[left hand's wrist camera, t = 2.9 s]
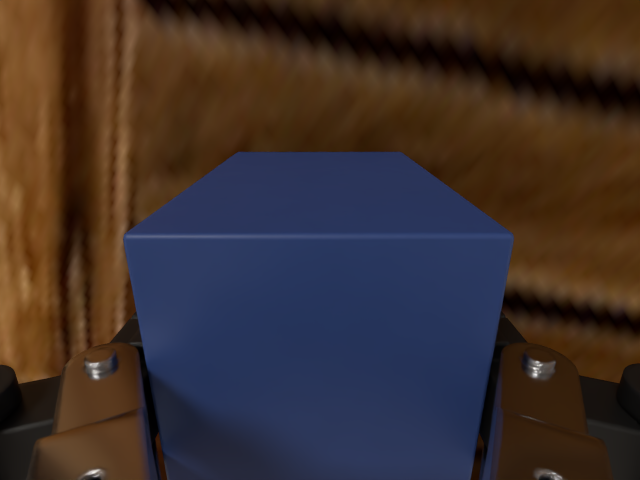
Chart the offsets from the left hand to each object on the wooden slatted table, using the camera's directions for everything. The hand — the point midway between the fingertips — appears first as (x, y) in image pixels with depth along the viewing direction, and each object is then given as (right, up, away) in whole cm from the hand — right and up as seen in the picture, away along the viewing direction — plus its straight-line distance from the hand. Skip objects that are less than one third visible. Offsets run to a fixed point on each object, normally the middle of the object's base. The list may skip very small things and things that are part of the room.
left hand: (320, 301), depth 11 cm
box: (0, -7, +7) cm, 10 cm away
